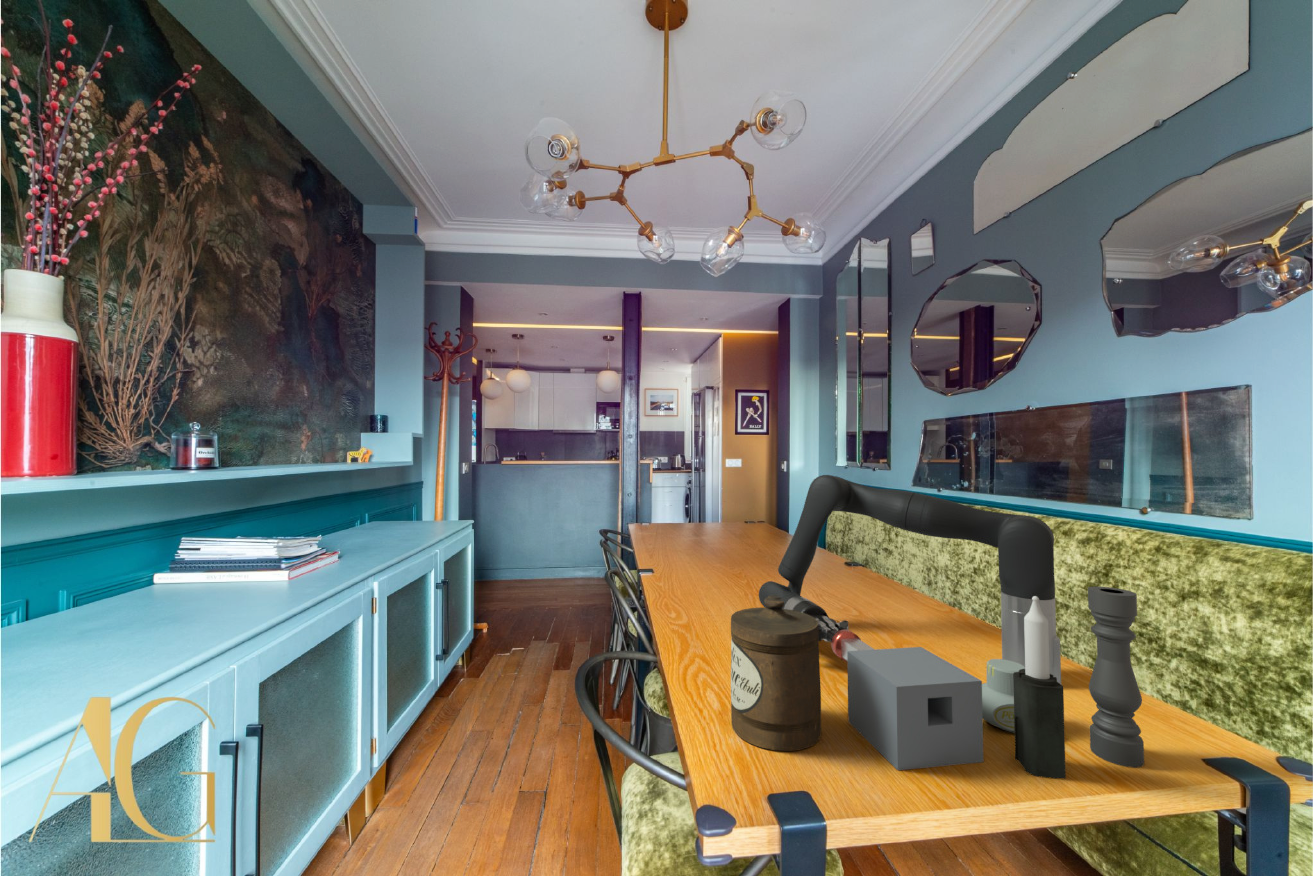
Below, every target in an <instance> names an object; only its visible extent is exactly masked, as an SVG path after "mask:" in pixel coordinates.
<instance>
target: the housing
mask: <svg viewBox="0 0 1313 876" xmlns="http://www.w3.org/2000/svg"><path fill="white" fill-rule="evenodd" d="M846 662H847V722H848V723H849V725H851V726H852V727H853V728H854V729H855V730H856V731H857V732H858V733H859V734H860V735H861V736H862V737H863V738H864V739H865V740H866V741H867V742H868V743H869V744H870V745H871V746H873V748H874V749H875V750H877V752H878V753H879V754H881V756H882V757H883V758H885V759H886V761H888V762H889V763H890V764H891V765H892V766H893V767H894V768H895V769H896V770H897V771H905V770H914V769H924V768H925V769H926V768H935V767H936V768H937V767H947V766H957V765H958V766H959V765H966V764H977V763H979V764H980V763H984V733H983V732H984V726H983V725H984V724H983V723H984V722H983V720H984V719H983V716H982V684H983V681H982V680H981V679H979V678H978V677H976V676H974V675H972V674H971V673H968V672H967V671H966V670H963V669H962V668H959V667H958V666H956V665H955V664H953V663H951V662H949V661H947V660H945V659H943V658H942V657H940V656H938V655H936V654H935V653H933V652H931V651H930V650H928V649H925V647H921V646H916V647H915V646H913V647H912V646H911V647H897V648H895V647H894V648H881V649H879V648H878V649H875V650H859V651H847V661H846Z"/></svg>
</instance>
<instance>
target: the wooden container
mask: <svg viewBox="0 0 1313 876" xmlns="http://www.w3.org/2000/svg"><path fill="white" fill-rule="evenodd" d="M764 603H765V606H766V607H764V606H762V607H750V608H749V607H748V608H744V609H740V610H737V611H735V612H733V613H732V614H731V616H730V637H731V641H730V644H731V645H730V648H731V649H730V651H731V652H730V655H731V657H730V659H731V660H730V662H731V663H730V705H731V706H730V707H731V708H730V713H731V717H730V718H731V719H730V721H731V727H732V729H733V731H734V733H735V734H736V735H737V736H738V737H739V738H741V740H744V741H745V742H747V743H748V744H751V745H753V746H755V747H758V748H762V749H766V750H770V751H779V752H794V751H801V750H804V749H807V748H809V747H812V746H814V745H815V744H817V743H818V742H819V740H820V738H821V736H822V692H821V690H822V689H821V688H822V687H821V686H822V685H821V670H820V669H821V668H820V650H819V649H820V645H819V643H820V641H819V629H818V622H817V620H816V619H815V618H814V617H812V616H810V615H808V614H805V613H802V612H798V611H794V610H789V609H782V607H783V606H784V601H783V599H782V598H780V597H779V596H777V595H769V596H768V597H767V598H765V600H764Z"/></svg>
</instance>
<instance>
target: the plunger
mask: <svg viewBox="0 0 1313 876" xmlns="http://www.w3.org/2000/svg"><path fill="white" fill-rule="evenodd" d="M830 645H831V649H832V652H833V653H834V654H835V655H836V656H837V657H838V658H840V660H842V661H844V662H847V651H859V650H876V649H875V648H873V647H872V646H870V645H869V644H867V643H866V642H864V641H862V639H861V638H860V637H859V636H858V634H856V633H854V632H853V631H852V630H850V629H848V630H840V631H838V632H837V633H836V634H835V635H834V636H833V638H832V641H831V642H830Z"/></svg>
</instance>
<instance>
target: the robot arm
mask: <svg viewBox="0 0 1313 876" xmlns="http://www.w3.org/2000/svg"><path fill="white" fill-rule="evenodd" d="M833 512H843V513H850V514H851V513H852V514H855V515H863V516H866V517H867V516H868V517H870V518H873V519H875V520H877V521H879V522H882V523H884V524H887V525H889V526H891V527H894V528H897V529H901V530H903V531H907V532H911V533H915V534H918V535H924V536H929V537H934V538H943V539H949V540H950V539H952V540H953V539H954V540H963V541H964V540H965V541H973V542H977V543H981V544H983V545H987V546H991V547H994V548H997V552H998V553H997V554H998V577H999V583H1000V584H999V585H1000V609H1001V610H1000V613H1001V614H1000V616H1001V617H1000V618H1001V659H1004V660H1009V661H1013V662H1016V663H1019V664H1021V665H1023V666H1024V667H1025V636H1024V617H1025V616H1026V614H1027V613H1028V612H1029V611H1030V608H1031V605H1032V602H1033V600H1032V597H1033V596H1037V597H1038V598H1039V601H1038V602H1039V605H1040V608H1041V610H1042V613H1043V615H1044V616H1045V617H1046V619H1047V620H1048V630H1049V670H1050V674H1052V675H1053V677H1056V678H1057V682H1058V683H1060V684H1061V685H1062V661H1061V640H1060V638H1059V636H1057V624H1056V623H1057V622H1056V621H1057V619H1056V613H1057V612H1056V584H1055V583H1056V581H1055V556H1054V555H1055V553H1054V551H1055V548H1054V547H1055V546H1054V544H1055V535H1054V532H1053V530H1052V528H1051V527H1050V526H1049V525H1048V524H1047V523H1046V522H1044V521H1043V520H1042V519H1040V518H1038V517H1035V516H1032V515H1024V514H1014V513H1013V514H1012V513H1004V512H997V511H991V510H990V511H989V510H985V509H979V508H975V507H971V506H969V505H965V504H963V503H962V504H961V503H958V502H955V501H951V500H948V499H945V498H944V499H943V498H941V497H940V498H939V497H936V496H932V495H927V494H923V493H918V492H914V491H913V492H912V491H906V490H899V489H890V488H889V489H886V488H876V487H871V486H866V485H864V484H860V483H856V482H853V481H850V480H848V479H846V478H845V479H844V477H843V478H842V477H839V476H836V475H831V474H823V475H819V476H817V477H816V478H814V479H812V482H811V483H810V485H809V486H808V491H807V494H806V497H805V501H804V504H803V507H802V512H801V513H800V514H801V515H800V518H799V520H798V523H797V526H796V528H795V530H794V534H793V536H792V538H791V540H790V542H789V545H788V547H787V549H786V550H785V553H784V554H783V557H782V559H781V561H780V564H779V565H778V568H777V571H778V574H779V575H780V576H781V578H784V579H785V580H787V581H788V585H787V586H786V585H784V584H782V583H778V582H776V581H772V580H771V581H766V582H764V583H763V584H762V585H761V586H760V588H759V590H758V600H759V602H760V604H761V605H762V607H766V606H765V603H764V600H765V598H767V597H768V596H769V595H777V596H779V597H780V598H782V599H783V601H784V606H783V607H782V609H789V610H794V611H798V612H802V613H805V614H808V615H810V616H812V617H814V618H815V619H816V620H817V622H818V629H819V642H820V641H821V642H822V641H823V640H824V642H827V643H831V641H832V638H833V636H834V635H835V634H836V633H837V632H838V631H840V630H849V621H848V620H846V619H845V620H841V621H839V622H837V621H836V620H835V619H834V618H831V617H829V615H828V613H827V611H826V610H825V608H823V607H822V606H820V605H819V604H817V603H814V601H811V600H810V599H808V598H806V597H803V596H802V595H801V593H802V588H803V584H804V580H805V577H806V575H807V573H808V571H809V569H810V566H811V565H812V562H813V560H814V557H815V556H816V552H817V548H818V543H819V538H820V534H821V532H822V530H823V527H824V525H825V524H826V521H827V520H828V518H829V516H831V514H832V513H833Z"/></svg>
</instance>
